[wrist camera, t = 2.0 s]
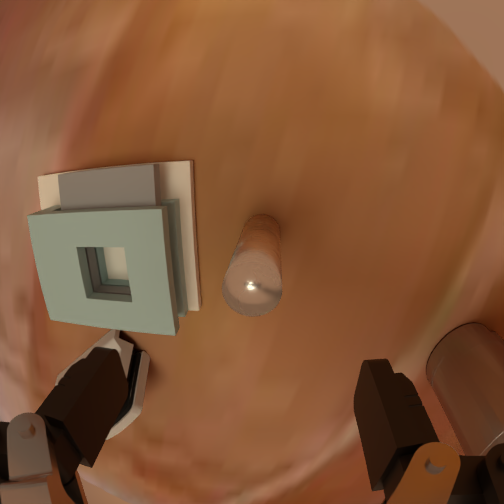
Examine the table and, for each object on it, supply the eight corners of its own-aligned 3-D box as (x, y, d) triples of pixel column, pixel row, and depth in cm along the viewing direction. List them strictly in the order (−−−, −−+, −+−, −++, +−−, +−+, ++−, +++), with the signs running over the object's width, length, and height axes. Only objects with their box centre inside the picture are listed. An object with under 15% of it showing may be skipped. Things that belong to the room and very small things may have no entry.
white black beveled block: (118, 323, 30) (104, 406, 22) (152, 344, 33) (148, 425, 25) (56, 376, 35) (42, 439, 26) (84, 391, 37) (74, 453, 29)
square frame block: (192, 160, 25) (173, 164, 20) (201, 305, 29) (187, 336, 24) (43, 175, 26) (9, 183, 21) (63, 294, 30) (36, 317, 25)
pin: (280, 214, 26) (282, 262, 15) (279, 249, 27) (281, 317, 16) (243, 214, 26) (220, 261, 15) (243, 249, 27) (223, 315, 16)
